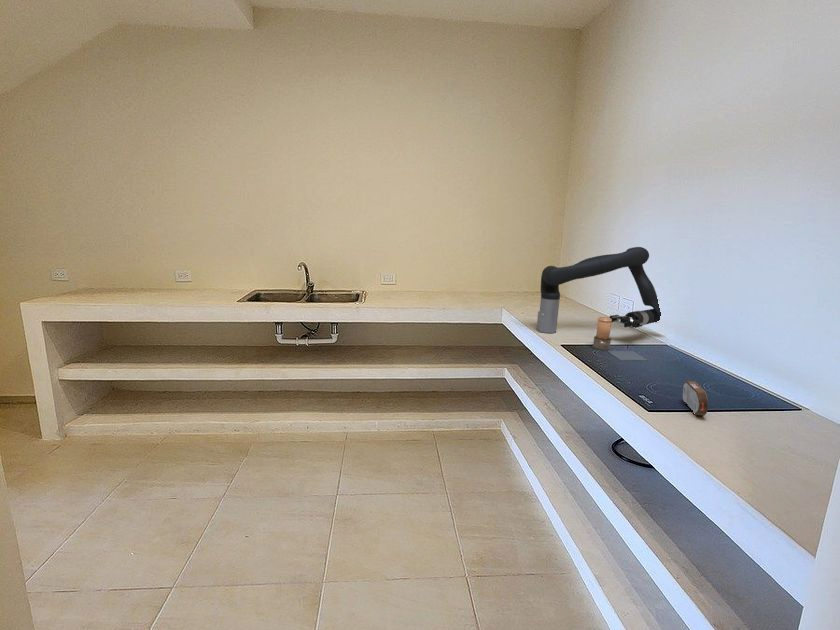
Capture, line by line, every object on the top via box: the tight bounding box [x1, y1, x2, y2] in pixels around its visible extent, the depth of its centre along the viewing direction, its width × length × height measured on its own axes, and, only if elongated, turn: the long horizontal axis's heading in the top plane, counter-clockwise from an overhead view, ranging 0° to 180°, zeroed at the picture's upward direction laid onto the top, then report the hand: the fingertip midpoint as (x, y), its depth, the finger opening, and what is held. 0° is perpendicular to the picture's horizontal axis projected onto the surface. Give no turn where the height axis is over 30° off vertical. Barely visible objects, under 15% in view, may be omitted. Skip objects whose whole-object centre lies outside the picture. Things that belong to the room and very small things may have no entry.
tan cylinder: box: [595, 316, 613, 340], centre depth 215 cm, size 6×6×10 cm
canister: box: [592, 335, 612, 352], centre depth 217 cm, size 7×7×5 cm
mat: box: [607, 350, 648, 362], centre depth 207 cm, size 12×12×1 cm
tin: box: [681, 380, 709, 417], centre depth 154 cm, size 15×3×8 cm, turn 170°
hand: (616, 322), depth 220 cm, fingers open, 8 cm apart
